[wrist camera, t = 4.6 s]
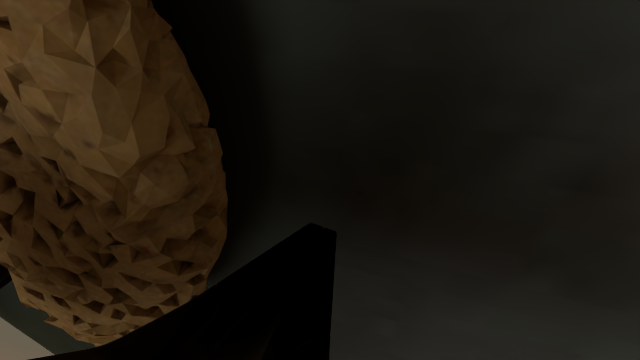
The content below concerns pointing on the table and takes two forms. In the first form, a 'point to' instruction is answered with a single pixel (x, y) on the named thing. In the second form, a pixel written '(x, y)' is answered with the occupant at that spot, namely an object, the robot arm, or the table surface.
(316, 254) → the robot arm
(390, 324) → the table surface
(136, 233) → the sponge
